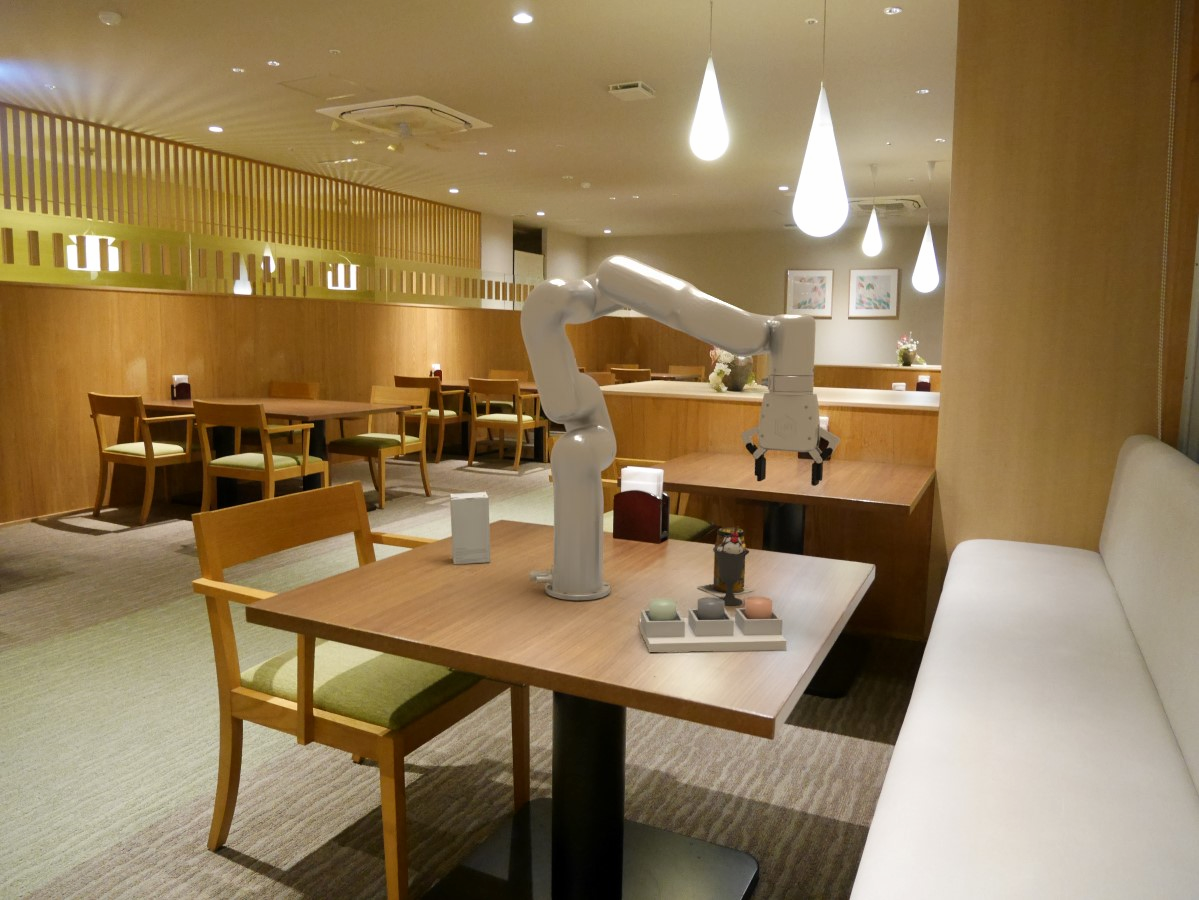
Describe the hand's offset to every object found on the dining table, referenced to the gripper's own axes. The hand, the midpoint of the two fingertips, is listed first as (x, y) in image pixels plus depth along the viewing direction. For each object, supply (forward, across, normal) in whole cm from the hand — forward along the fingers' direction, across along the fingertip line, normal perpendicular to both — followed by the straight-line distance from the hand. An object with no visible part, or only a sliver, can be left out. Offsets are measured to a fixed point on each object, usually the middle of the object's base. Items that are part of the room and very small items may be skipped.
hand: (787, 482), depth 152 cm
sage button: (+21, -14, -23) cm, 34 cm away
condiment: (+24, -14, +9) cm, 29 cm away
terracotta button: (+21, -1, -14) cm, 25 cm away
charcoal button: (+21, -7, -19) cm, 29 cm away
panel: (+24, -7, -19) cm, 31 cm away
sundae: (+24, -11, +2) cm, 26 cm away
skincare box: (+24, -70, +3) cm, 74 cm away
